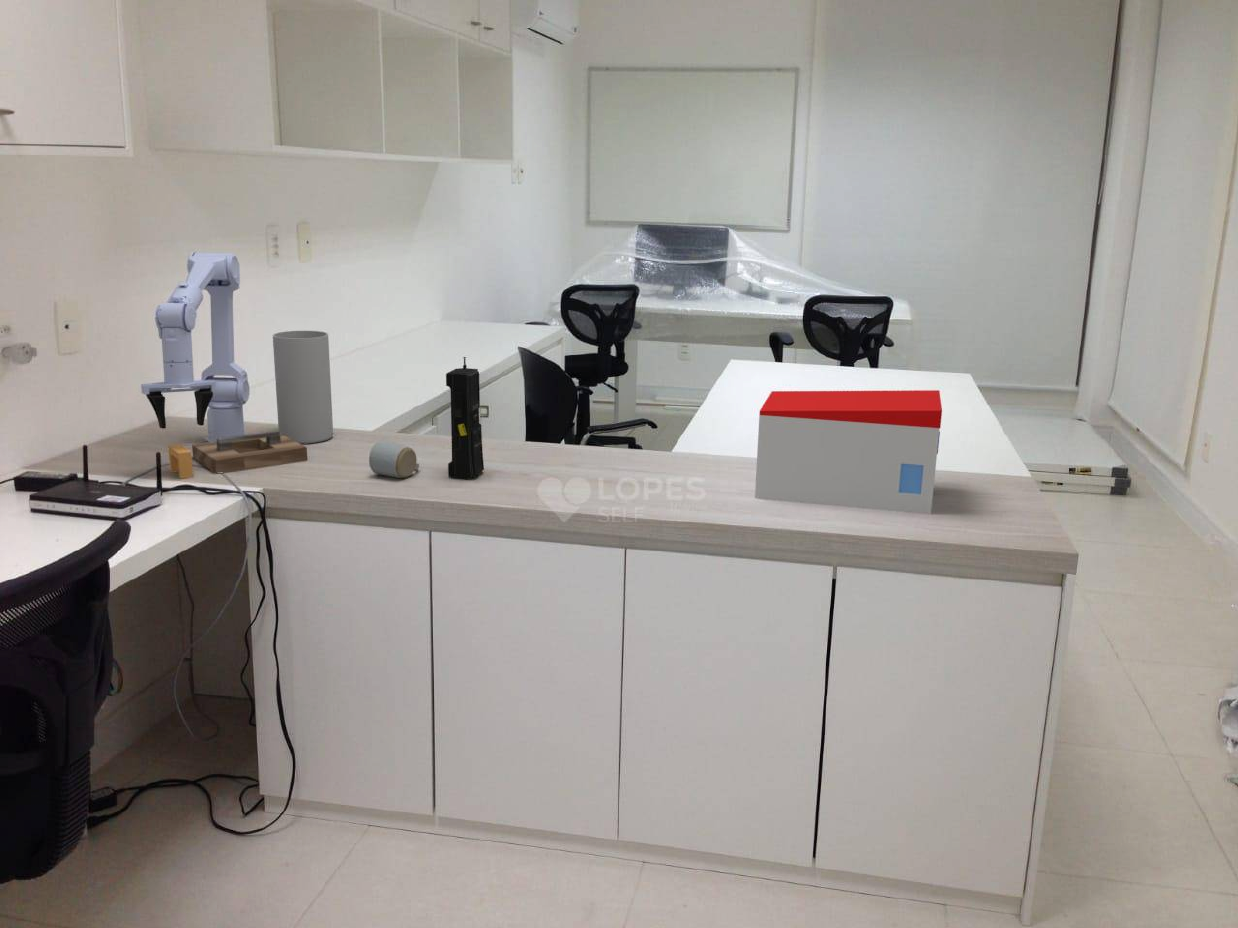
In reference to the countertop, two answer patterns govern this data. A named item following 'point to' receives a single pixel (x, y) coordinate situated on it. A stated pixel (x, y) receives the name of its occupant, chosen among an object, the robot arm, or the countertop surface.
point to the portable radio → (465, 423)
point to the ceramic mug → (392, 459)
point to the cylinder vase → (303, 385)
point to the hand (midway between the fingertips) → (181, 426)
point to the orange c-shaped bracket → (180, 461)
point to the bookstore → (850, 448)
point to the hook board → (249, 452)
